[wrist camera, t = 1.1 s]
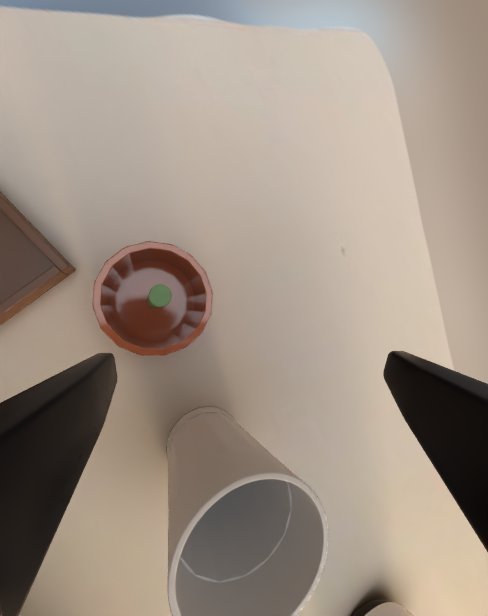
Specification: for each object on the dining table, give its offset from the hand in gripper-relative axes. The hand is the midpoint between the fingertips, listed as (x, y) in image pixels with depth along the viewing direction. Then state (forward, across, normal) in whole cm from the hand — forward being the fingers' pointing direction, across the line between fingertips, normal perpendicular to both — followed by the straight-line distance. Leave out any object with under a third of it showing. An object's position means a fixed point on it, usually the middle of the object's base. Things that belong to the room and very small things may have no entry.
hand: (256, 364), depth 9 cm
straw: (+14, +6, +3) cm, 16 cm away
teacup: (+14, +6, +3) cm, 16 cm away
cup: (+11, +2, +15) cm, 19 cm away
